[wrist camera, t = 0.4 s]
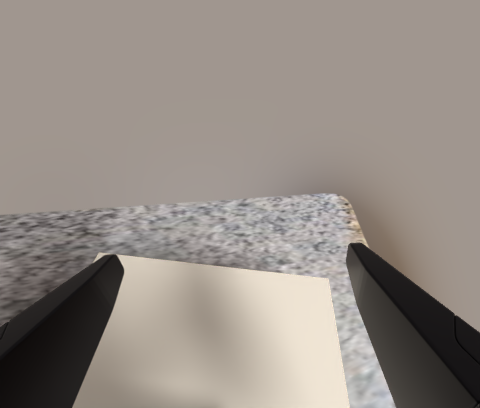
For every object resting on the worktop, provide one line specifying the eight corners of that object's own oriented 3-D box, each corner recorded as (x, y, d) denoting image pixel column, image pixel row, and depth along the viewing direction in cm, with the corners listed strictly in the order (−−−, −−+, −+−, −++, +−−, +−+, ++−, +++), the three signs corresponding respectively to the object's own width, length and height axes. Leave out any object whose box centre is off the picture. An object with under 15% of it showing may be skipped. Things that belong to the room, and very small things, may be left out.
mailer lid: (381, 633, 9) (426, 684, 7) (-75, 551, 10) (-154, 574, 8) (326, 282, 20) (338, 260, 18) (101, 256, 21) (87, 233, 19)
